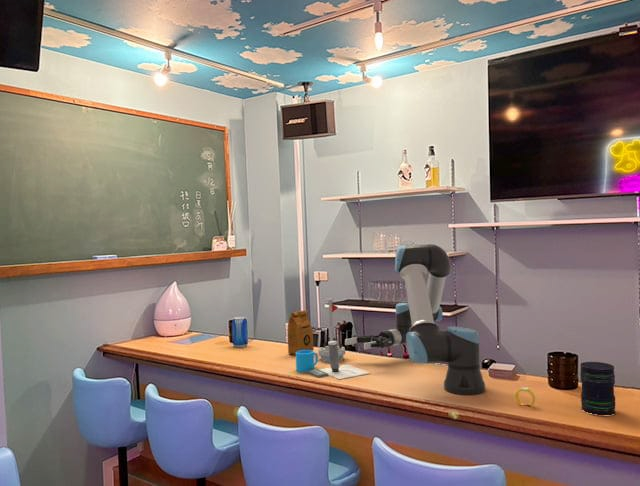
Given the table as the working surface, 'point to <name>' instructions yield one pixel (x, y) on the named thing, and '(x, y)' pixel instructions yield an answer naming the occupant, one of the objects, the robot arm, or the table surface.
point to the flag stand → (331, 337)
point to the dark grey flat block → (317, 373)
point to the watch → (527, 391)
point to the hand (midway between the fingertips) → (354, 344)
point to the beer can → (240, 332)
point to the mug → (305, 360)
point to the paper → (345, 372)
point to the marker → (333, 356)
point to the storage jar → (597, 388)
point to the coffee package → (299, 332)
